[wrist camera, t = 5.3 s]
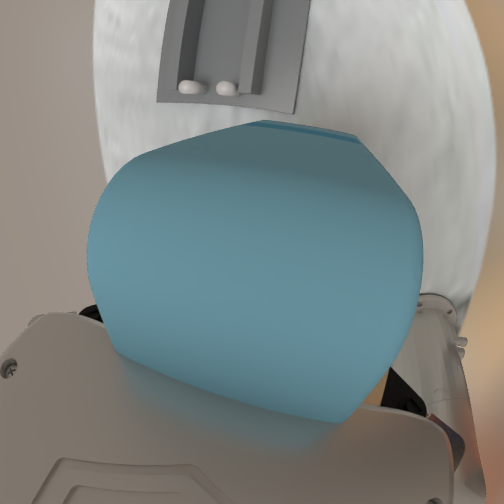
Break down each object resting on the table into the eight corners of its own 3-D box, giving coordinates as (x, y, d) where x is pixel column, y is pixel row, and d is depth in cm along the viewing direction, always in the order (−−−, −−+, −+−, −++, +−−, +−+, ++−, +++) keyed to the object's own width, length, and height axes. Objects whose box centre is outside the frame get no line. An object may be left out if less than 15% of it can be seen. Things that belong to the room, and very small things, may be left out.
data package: (266, 117, 13) (57, 183, 3) (355, 132, 12) (463, 261, 2) (248, 299, 19) (175, 460, 9) (312, 314, 18) (273, 489, 8)
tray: (314, -33, 15) (309, -53, 11) (293, 113, 25) (286, 114, 21) (180, -27, 18) (159, -40, 14) (161, 102, 28) (135, 104, 24)
